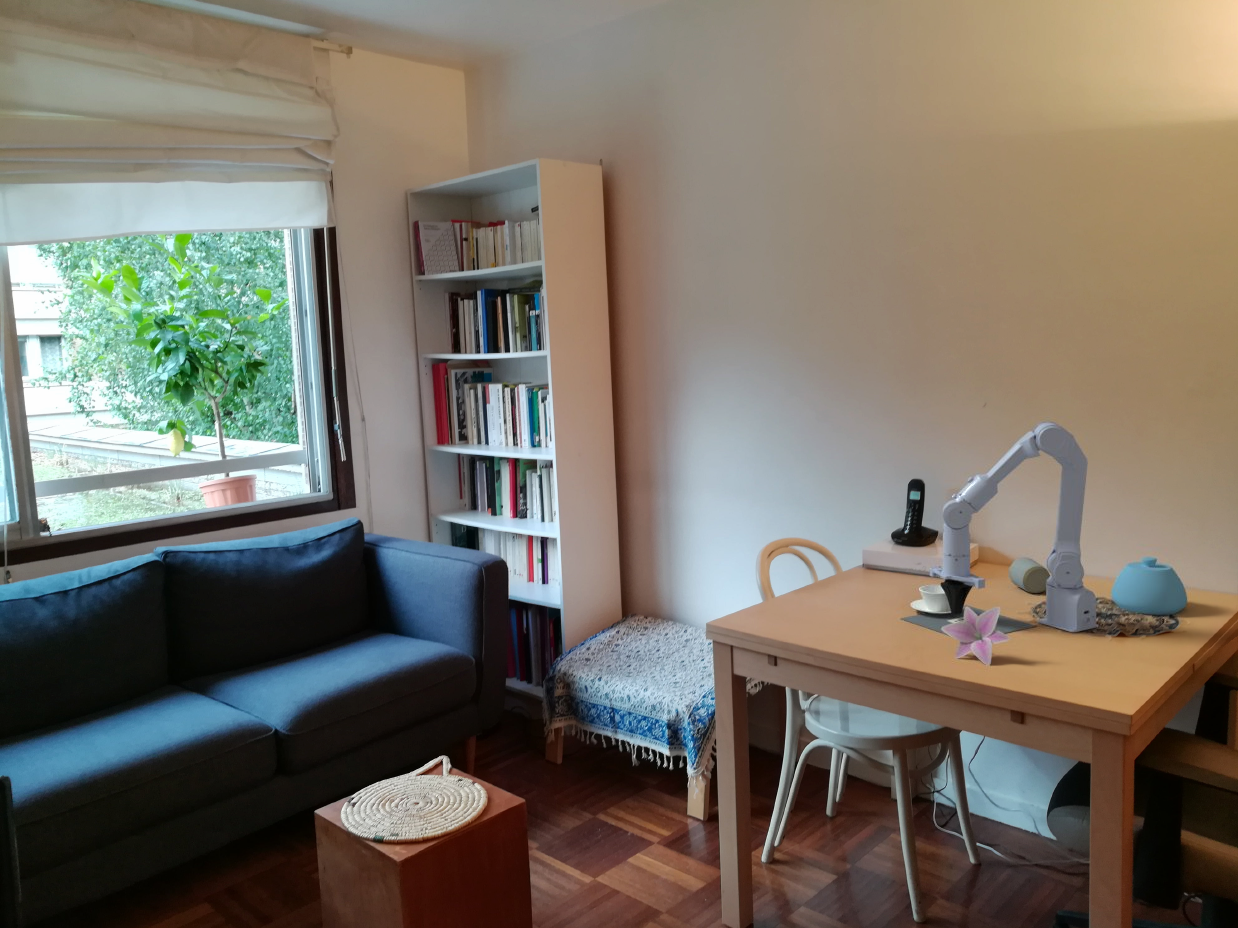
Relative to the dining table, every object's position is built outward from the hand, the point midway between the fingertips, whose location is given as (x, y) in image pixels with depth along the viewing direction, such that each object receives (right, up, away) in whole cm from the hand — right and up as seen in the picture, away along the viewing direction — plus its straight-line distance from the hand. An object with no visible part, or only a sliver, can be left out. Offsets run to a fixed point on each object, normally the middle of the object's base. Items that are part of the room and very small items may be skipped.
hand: (956, 613), depth 206 cm
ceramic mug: (+28, +2, +22) cm, 35 cm away
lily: (-5, -5, -25) cm, 26 cm away
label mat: (+1, -2, -3) cm, 3 cm away
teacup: (-2, -1, +7) cm, 7 cm away
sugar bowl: (+45, +1, +3) cm, 45 cm away
